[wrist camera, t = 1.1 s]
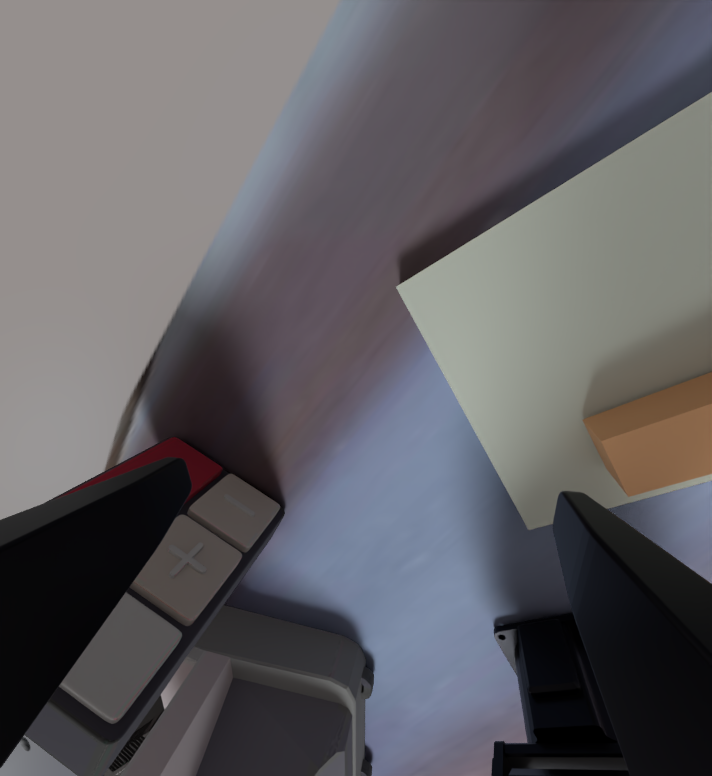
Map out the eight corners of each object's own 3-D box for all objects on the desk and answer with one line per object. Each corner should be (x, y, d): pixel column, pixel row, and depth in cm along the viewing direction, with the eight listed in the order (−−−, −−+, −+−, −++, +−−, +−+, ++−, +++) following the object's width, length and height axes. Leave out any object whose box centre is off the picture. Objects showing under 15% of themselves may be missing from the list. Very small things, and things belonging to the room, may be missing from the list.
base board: (1089, 350, 14) (1161, 358, 12) (524, 514, 22) (528, 530, 20) (978, -70, 12) (1049, -117, 10) (400, 286, 20) (396, 286, 18)
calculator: (291, 503, 27) (117, 740, 12) (270, 540, 28) (93, 790, 14) (174, 427, 27) (-111, 569, 13) (160, 467, 29) (-111, 633, 15)
